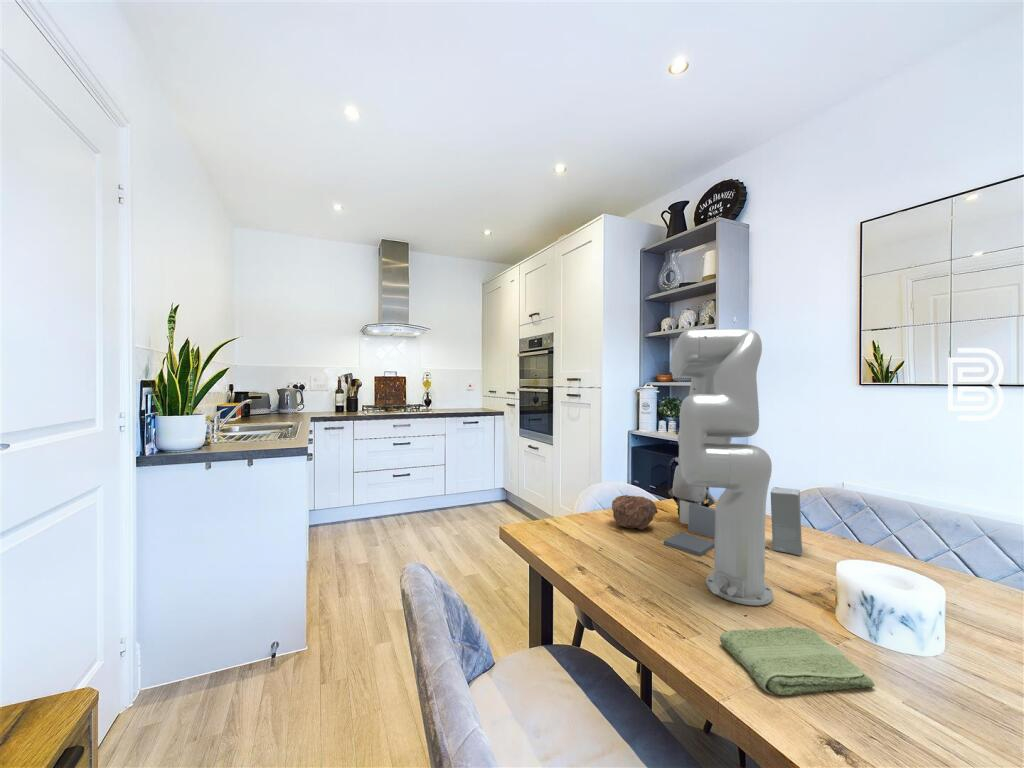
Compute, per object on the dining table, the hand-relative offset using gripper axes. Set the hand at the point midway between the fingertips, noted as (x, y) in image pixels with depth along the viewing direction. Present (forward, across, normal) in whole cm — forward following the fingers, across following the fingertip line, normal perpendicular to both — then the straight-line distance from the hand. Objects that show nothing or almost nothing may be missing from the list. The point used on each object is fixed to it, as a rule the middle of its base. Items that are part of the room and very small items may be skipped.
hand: (690, 519), depth 130 cm
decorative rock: (+1, -10, -17) cm, 20 cm away
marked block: (+1, 0, 0) cm, 1 cm away
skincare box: (+1, +26, 0) cm, 26 cm away
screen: (+1, +10, -7) cm, 12 cm away
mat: (+1, +8, -18) cm, 20 cm away
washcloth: (+2, +40, -52) cm, 66 cm away
